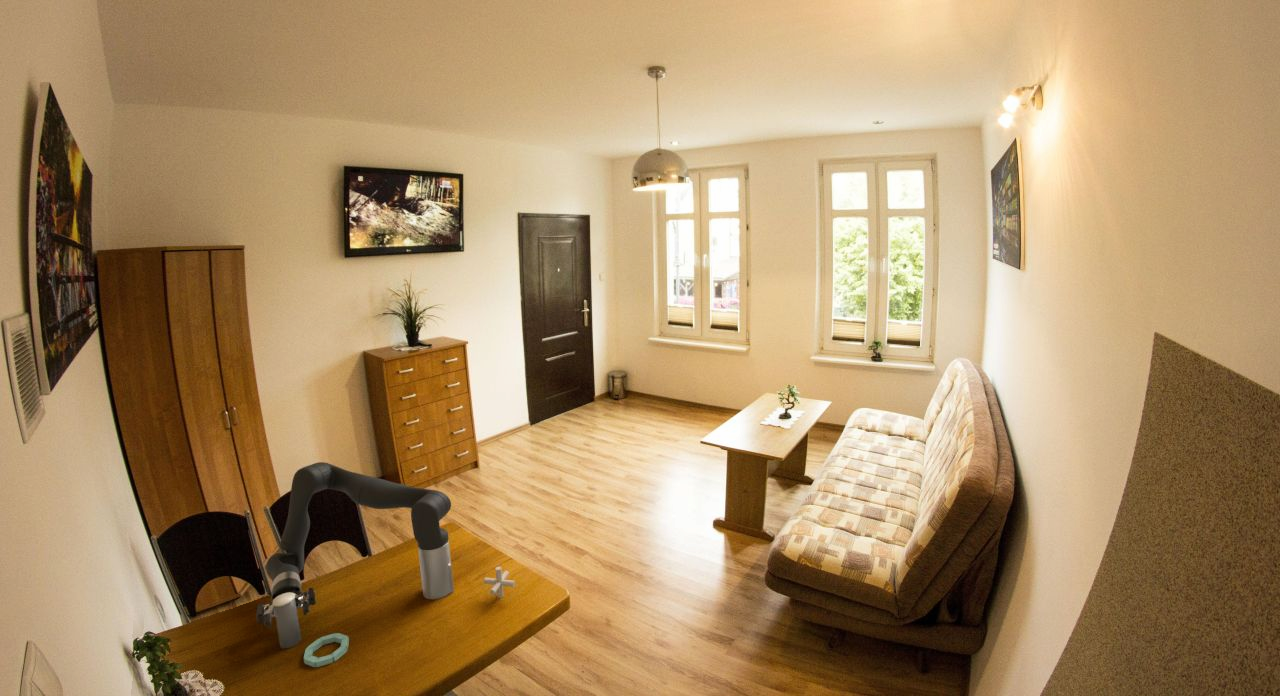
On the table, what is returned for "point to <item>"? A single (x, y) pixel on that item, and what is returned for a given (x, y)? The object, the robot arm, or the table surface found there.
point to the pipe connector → (499, 582)
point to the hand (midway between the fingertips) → (287, 618)
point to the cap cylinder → (287, 620)
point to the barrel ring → (327, 659)
